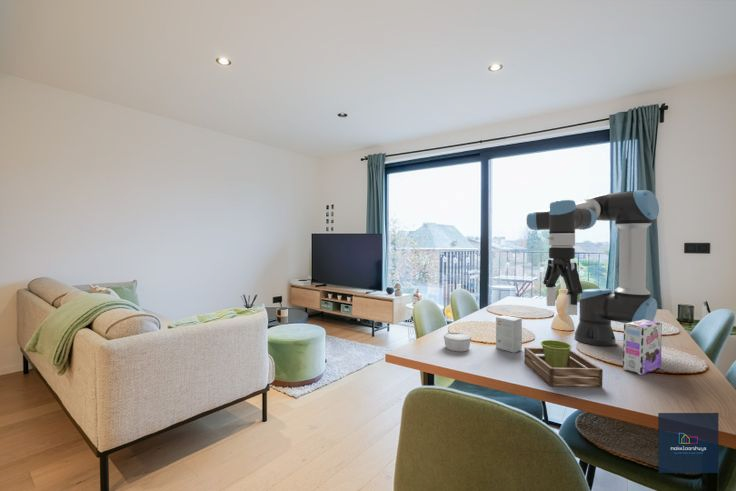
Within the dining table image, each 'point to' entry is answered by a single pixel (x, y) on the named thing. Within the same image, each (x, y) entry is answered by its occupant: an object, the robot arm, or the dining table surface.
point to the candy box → (642, 346)
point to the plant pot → (556, 353)
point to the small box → (509, 333)
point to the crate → (564, 370)
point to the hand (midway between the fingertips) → (560, 310)
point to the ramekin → (457, 341)
